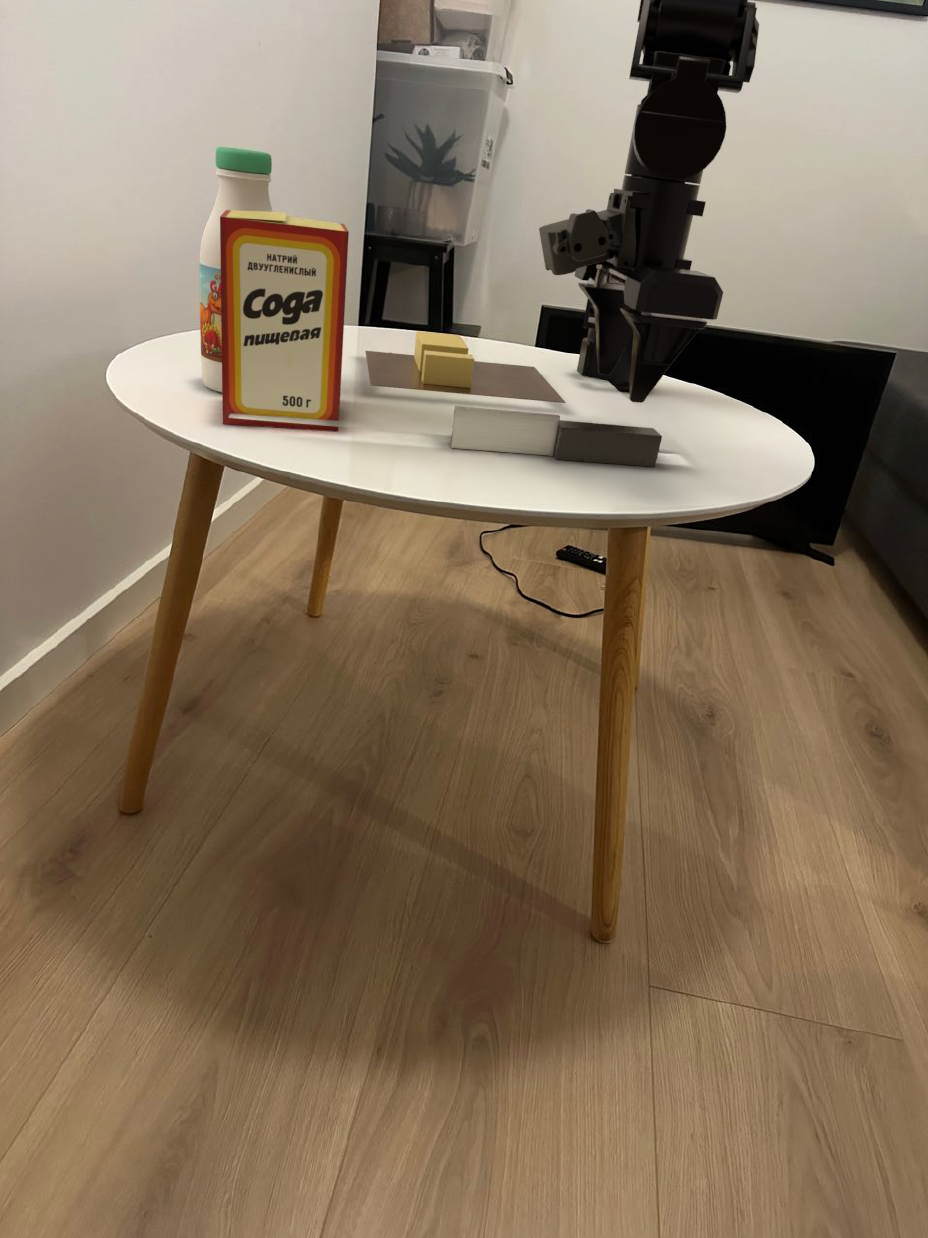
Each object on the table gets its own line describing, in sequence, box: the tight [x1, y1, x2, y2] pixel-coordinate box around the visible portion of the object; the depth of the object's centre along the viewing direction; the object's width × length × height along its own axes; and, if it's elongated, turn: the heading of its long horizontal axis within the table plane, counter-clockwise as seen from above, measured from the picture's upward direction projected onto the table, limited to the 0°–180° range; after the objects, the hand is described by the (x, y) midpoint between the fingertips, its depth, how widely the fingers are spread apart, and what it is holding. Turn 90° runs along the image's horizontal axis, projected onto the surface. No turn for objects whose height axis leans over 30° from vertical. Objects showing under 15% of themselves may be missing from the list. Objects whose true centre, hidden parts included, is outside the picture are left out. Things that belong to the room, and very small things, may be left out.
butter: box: [413, 330, 469, 372], centre depth 94 cm, size 5×7×3 cm
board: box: [365, 350, 567, 404], centre depth 93 cm, size 20×16×1 cm
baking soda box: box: [220, 210, 350, 433], centre depth 71 cm, size 10×6×16 cm
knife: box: [450, 405, 663, 468], centre depth 73 cm, size 18×2×4 cm, turn 98°
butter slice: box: [422, 350, 476, 388], centre depth 87 cm, size 5×2×3 cm, turn 97°
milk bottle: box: [198, 146, 274, 393], centre depth 77 cm, size 8×8×20 cm
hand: (619, 387), depth 72 cm, fingers open, 9 cm apart
